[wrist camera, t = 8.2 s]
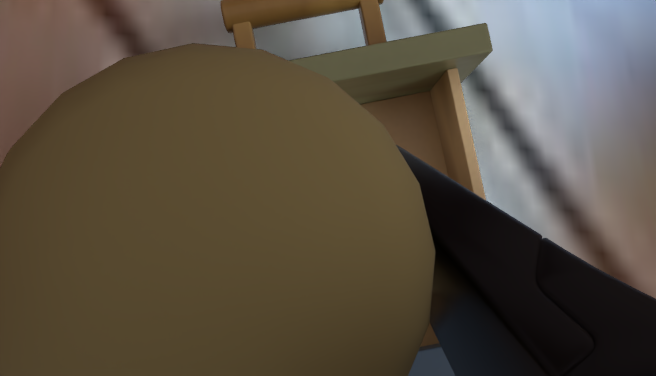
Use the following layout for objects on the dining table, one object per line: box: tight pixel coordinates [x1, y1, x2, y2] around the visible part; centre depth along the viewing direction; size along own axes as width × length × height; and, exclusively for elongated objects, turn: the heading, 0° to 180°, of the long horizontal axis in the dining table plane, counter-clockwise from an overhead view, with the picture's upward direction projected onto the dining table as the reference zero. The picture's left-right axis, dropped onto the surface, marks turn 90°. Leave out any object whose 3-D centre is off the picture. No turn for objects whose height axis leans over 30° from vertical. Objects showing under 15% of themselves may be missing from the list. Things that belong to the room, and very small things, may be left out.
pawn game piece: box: [0, 43, 435, 376], centre depth 10 cm, size 6×6×11 cm
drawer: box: [221, 0, 493, 347], centre depth 20 cm, size 16×12×5 cm
